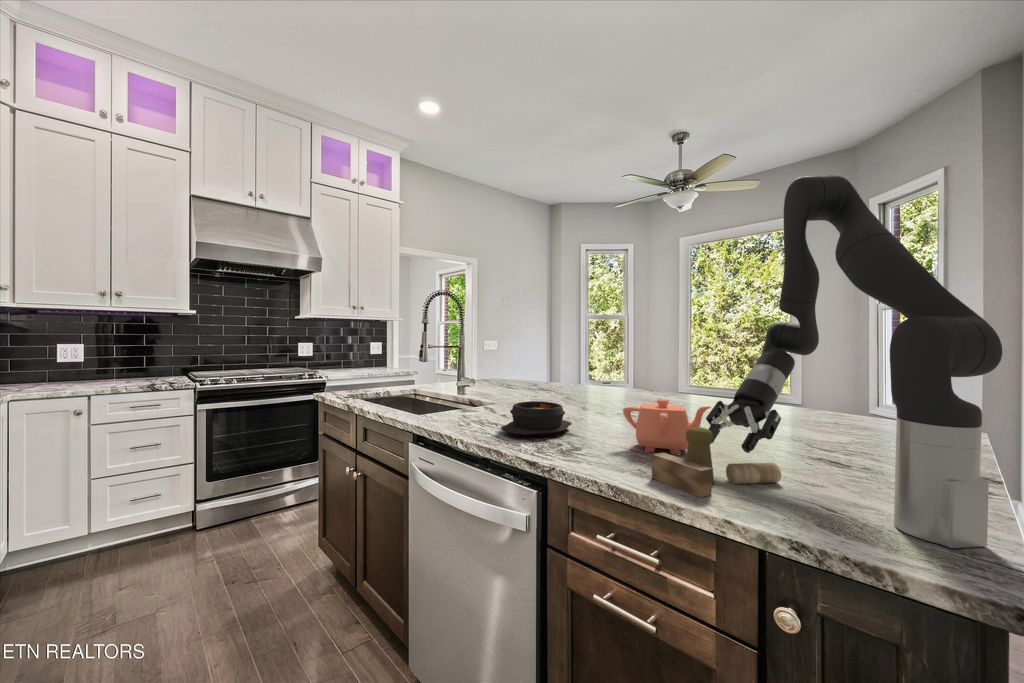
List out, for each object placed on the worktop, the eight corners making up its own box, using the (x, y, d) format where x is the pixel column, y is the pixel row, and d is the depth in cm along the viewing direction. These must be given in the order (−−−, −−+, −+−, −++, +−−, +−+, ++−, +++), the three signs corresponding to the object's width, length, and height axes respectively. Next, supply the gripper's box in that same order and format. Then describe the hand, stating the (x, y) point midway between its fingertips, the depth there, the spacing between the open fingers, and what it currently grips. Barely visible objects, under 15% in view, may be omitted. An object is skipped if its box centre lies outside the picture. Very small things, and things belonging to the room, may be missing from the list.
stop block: (712, 494, 81) (713, 468, 81) (700, 497, 79) (701, 470, 79) (663, 475, 91) (663, 452, 91) (651, 478, 90) (652, 454, 90)
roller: (769, 458, 90) (783, 469, 86) (765, 474, 91) (778, 486, 88) (728, 459, 89) (740, 471, 85) (724, 476, 90) (735, 488, 86)
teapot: (619, 446, 116) (620, 397, 116) (659, 439, 124) (660, 394, 124) (670, 462, 102) (671, 407, 101) (711, 453, 110) (712, 402, 109)
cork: (718, 487, 85) (719, 431, 85) (685, 484, 86) (686, 430, 86) (710, 477, 91) (711, 425, 91) (680, 475, 92) (681, 424, 92)
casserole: (540, 421, 147) (541, 397, 147) (585, 430, 134) (586, 404, 134) (486, 433, 129) (487, 405, 129) (532, 444, 116) (533, 413, 116)
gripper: (724, 374, 102) (689, 427, 96) (786, 381, 89) (750, 441, 84) (738, 395, 104) (705, 448, 99) (800, 404, 92) (766, 465, 86)
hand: (726, 445), depth 91 cm, fingers open, 8 cm apart
